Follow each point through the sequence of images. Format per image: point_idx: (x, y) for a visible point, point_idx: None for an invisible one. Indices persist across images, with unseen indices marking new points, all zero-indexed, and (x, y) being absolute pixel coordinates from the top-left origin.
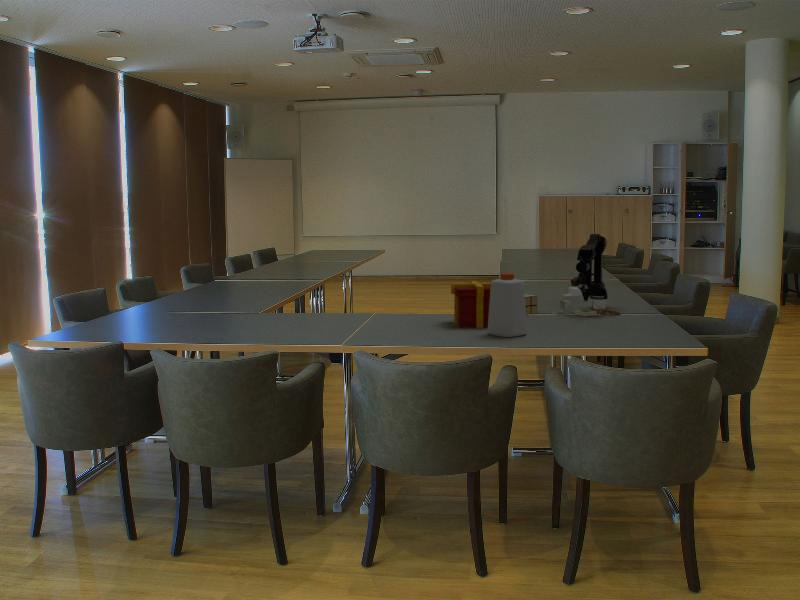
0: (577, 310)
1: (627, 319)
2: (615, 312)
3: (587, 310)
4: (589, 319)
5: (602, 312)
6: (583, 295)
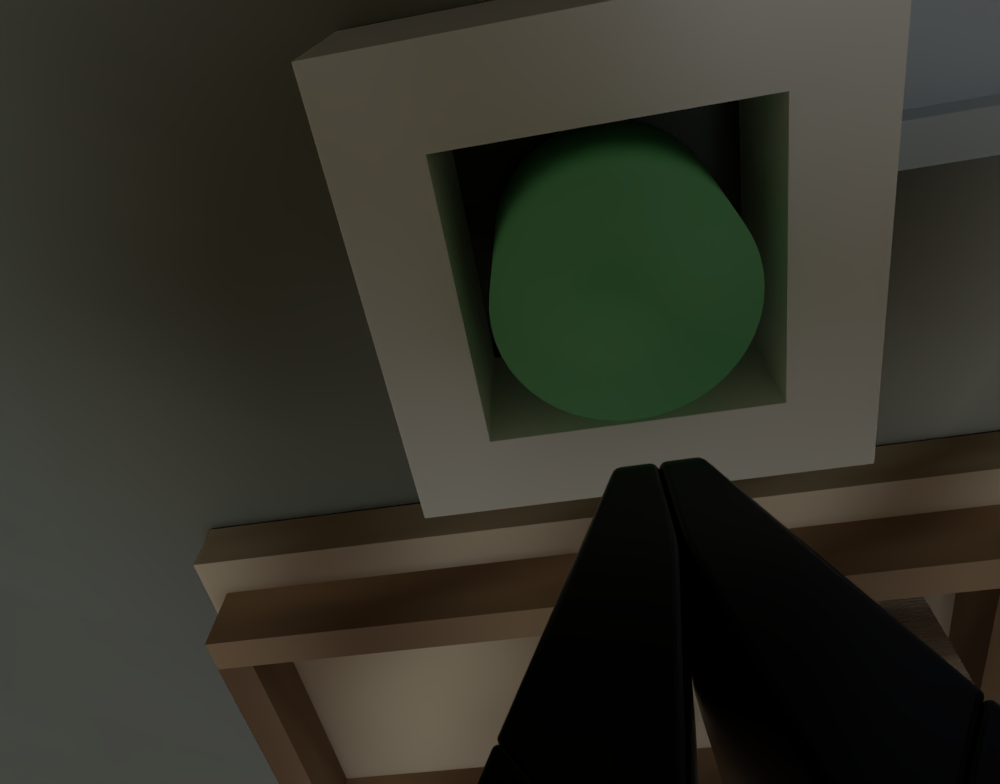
0: (882, 79)
1: (105, 754)
2: (297, 782)
3: (489, 311)
4: (125, 121)
5: (415, 614)
6: (813, 675)
